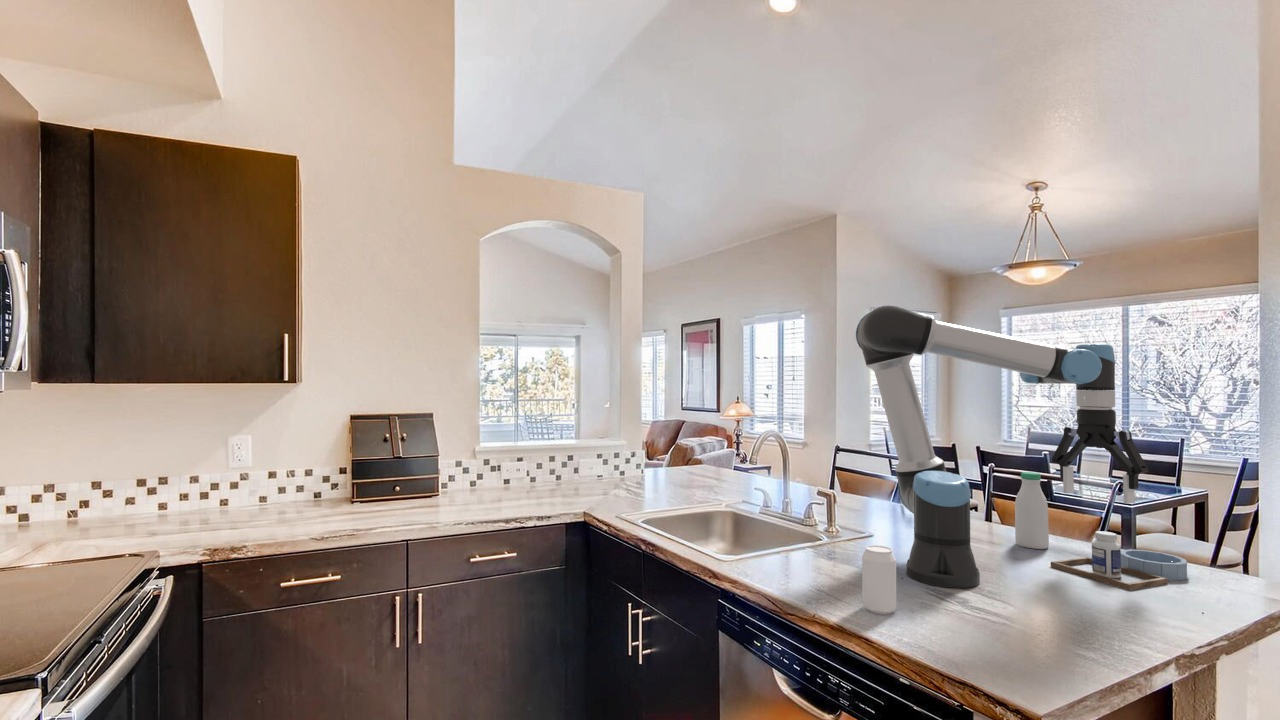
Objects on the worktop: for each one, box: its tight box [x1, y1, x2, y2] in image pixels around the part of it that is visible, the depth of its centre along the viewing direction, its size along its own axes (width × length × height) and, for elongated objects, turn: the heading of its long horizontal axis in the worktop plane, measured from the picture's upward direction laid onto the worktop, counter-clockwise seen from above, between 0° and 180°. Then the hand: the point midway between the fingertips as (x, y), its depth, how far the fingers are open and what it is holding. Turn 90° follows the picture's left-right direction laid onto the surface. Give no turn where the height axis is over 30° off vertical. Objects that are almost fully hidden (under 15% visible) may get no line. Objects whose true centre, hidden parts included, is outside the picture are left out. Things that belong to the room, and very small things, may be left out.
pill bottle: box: [1091, 530, 1122, 579], centre depth 143 cm, size 5×5×10 cm
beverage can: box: [861, 544, 897, 616], centre depth 120 cm, size 6×6×12 cm
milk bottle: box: [1014, 471, 1050, 550], centre depth 168 cm, size 8×8×20 cm
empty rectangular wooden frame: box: [1050, 556, 1168, 591], centre depth 143 cm, size 13×18×1 cm
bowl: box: [1121, 548, 1188, 581], centre depth 145 cm, size 12×12×4 cm
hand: (1097, 497), depth 146 cm, fingers open, 13 cm apart
